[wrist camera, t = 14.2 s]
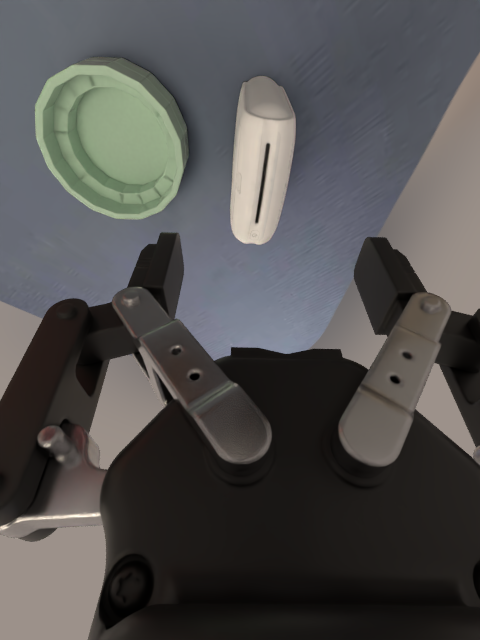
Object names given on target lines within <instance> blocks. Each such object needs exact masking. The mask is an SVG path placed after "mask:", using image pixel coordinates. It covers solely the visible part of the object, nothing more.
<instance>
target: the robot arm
mask: <svg viewBox="0 0 480 640" xmlns="http://www.w3.org/2000/svg"><path fill="white" fill-rule="evenodd" d="M414 272H415V271H414V270H413V268H412V267H411V266H410V263H409V261H408V260H407V258H406V257H405V256H404V255H403V254H402V253H400V252H399V251H398V250H395V249H393V248H392V247H391V245H390V243H389V242H388V240H387V238H383V237H382V238H381V237H367V238H366V239H365V241H364V243H363V246H362V249H361V251H360V254H359V257H358V260H357V263H356V265H355V269H354V280H355V282H356V285H357V288H358V291H359V293H360V296H361V298H362V301H363V303H364V306H365V309H366V312H367V314H368V317H369V319H370V322H371V325H372V327H373V330H374V332H375V334H376V335H387V337H388V338H387V339H386V341H385V343H384V345H383V346H382V348H381V350H380V352H379V353H378V355H377V357H376V359H375V360H374V362H373V363H372V365H371V367H370V369H369V370H368V369H367V368H365V367H364V366H362V365H360V364H358V363H356V362H354V361H351V360H348V359H345V358H343V357H342V353H341V350H340V349H311V350H306V351H301V352H296V353H291V354H283V353H279V352H274V351H270V350H265V349H261V348H238V347H231V355H230V356H226V357H223V358H220V359H218V360H215V361H214V360H213V359H212V358H211V357H210V356H209V354H208V353H207V352H206V351H205V350H204V348H203V347H202V346H201V345H200V344H199V342H198V341H197V340H196V339H195V338H194V336H193V335H192V334H191V333H190V332H189V330H188V329H187V328H186V327H185V326H184V324H183V323H182V322H181V321H180V320H179V319H175V314H176V309H177V304H178V299H179V295H180V290H181V285H182V280H183V275H184V263H183V256H182V249H181V242H180V235H179V233H164V232H161V233H160V236H159V239H158V242H157V244H148V245H147V246H146V247H145V248H144V249H143V250H142V251H141V253H140V256H139V258H138V261H137V263H136V267H135V269H134V271H133V274H132V276H131V279H130V281H129V284H128V287H127V288H125V289H123V290H121V291H119V292H118V293H117V294H116V295H115V296H114V297H113V299H112V302H110V303H107V304H103V305H98V306H93V307H88V305H87V303H86V302H85V301H83V300H81V299H74V298H73V299H66V300H62V301H60V302H58V303H56V304H54V305H53V306H52V307H50V308H49V309H48V311H47V312H46V314H45V316H44V318H43V320H42V322H41V324H40V326H39V328H38V330H37V331H36V333H35V335H34V337H33V339H32V341H31V343H30V345H29V347H28V349H27V351H26V353H25V354H24V356H23V358H22V360H21V362H20V364H19V366H18V368H17V370H16V372H15V374H14V376H13V378H12V380H11V381H10V383H9V385H8V387H7V389H6V391H5V393H4V395H3V397H2V399H1V401H0V534H1V535H4V536H7V537H11V538H19V539H22V540H25V541H30V542H33V541H38V540H41V539H44V538H46V537H47V536H49V535H50V534H52V533H53V532H54V531H55V530H56V529H57V528H62V527H79V526H96V525H103V527H104V532H105V539H106V569H105V576H104V582H103V586H102V590H101V593H100V597H99V600H98V604H97V608H96V611H95V615H94V619H93V622H92V626H91V629H90V633H89V637H88V640H480V309H478V310H477V312H476V313H475V314H474V315H473V316H471V315H467V314H463V313H459V312H454V311H451V307H450V306H449V304H448V303H447V302H446V301H445V300H444V299H442V298H441V297H439V296H437V295H434V294H432V293H427V291H426V289H425V288H424V286H423V284H422V283H421V281H420V279H419V278H418V276H417V275H416V273H414ZM129 354H132V355H133V357H134V359H135V360H136V362H137V363H138V365H139V366H140V368H141V370H142V371H143V373H144V374H145V376H146V378H147V379H148V381H149V382H150V384H151V386H152V387H153V389H154V392H155V394H156V396H157V397H158V399H159V401H160V403H161V405H162V406H163V408H164V409H163V410H161V411H160V413H159V414H158V415H157V416H156V417H155V418H154V419H153V420H152V421H151V422H150V423H149V424H148V425H147V426H146V427H145V428H144V429H143V430H142V431H141V432H140V433H139V434H138V435H137V436H136V437H135V438H134V439H133V440H132V441H131V442H130V443H129V444H128V445H127V446H126V447H125V448H124V449H123V450H122V451H121V452H120V453H119V454H118V455H117V457H116V458H115V459H114V461H113V462H112V464H111V465H110V467H109V469H108V470H104V469H100V465H99V460H100V450H99V447H98V445H97V444H96V442H95V441H94V440H93V439H92V437H91V436H90V435H89V431H90V427H91V424H92V421H93V417H94V414H95V410H96V407H97V403H98V399H99V396H100V393H101V389H102V385H103V382H104V379H105V375H106V372H107V368H108V364H109V361H110V359H113V358H117V357H121V356H125V355H129ZM434 363H437V364H439V365H440V368H441V370H442V372H443V374H444V377H445V379H446V381H447V383H448V386H449V388H450V390H451V392H452V394H453V397H454V399H455V401H456V403H457V406H458V408H459V410H460V412H461V415H462V417H463V419H464V421H465V423H466V426H467V428H468V430H469V432H470V434H471V437H472V439H473V441H474V444H475V446H476V449H475V450H474V453H473V458H472V457H471V456H470V455H468V454H467V453H466V452H465V451H464V450H463V449H461V448H460V447H459V446H458V445H457V444H456V443H454V442H453V441H452V440H451V439H450V438H448V437H447V436H446V435H445V434H444V433H443V432H441V431H440V430H439V429H438V428H437V427H436V426H434V425H433V424H432V423H431V422H430V421H428V420H427V419H426V418H425V417H424V416H423V415H421V414H420V413H419V412H418V411H417V410H416V409H415V408H416V405H417V403H418V400H419V398H420V396H421V393H422V391H423V388H424V386H425V384H426V381H427V379H428V376H429V373H430V372H431V369H432V366H433V364H434Z"/></svg>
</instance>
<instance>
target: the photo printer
mask: <svg viewBox="0 0 480 640" xmlns="http://www.w3.org/2000/svg"><path fill="white" fill-rule="evenodd" d="M295 136H296V117H295V113H294V111H293V108H292V106H291V104H290V101H289V99H288V97H287V94H286V92H285V90H284V88H283V87H282V86H278V85H277V84H276V82H275V81H274V80H272V79H271V78H269V77H266V76H257V77H254V78H252V79H250V80H249V81H248V82H245V81H244V82H243V84H242V88H241V91H240V95H239V101H238V108H237V118H236V128H235V140H234V152H233V169H232V190H231V207H230V215H231V227H232V232H233V234H234V236H235V237H236V238H237V239H238V240H240V241H241V242H243V243H245V244H248V243H255V244H258V245H260V244H264V243H266V242H267V241H269V240H270V239H271V237H272V236H273V234H274V232H275V230H276V228H277V225H278V222H279V218H280V215H281V211H282V207H283V203H284V199H285V195H286V190H287V185H288V180H289V175H290V170H291V164H292V158H293V152H294V145H295Z"/></svg>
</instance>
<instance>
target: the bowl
mask: <svg viewBox="0 0 480 640" xmlns="http://www.w3.org/2000/svg"><path fill="white" fill-rule="evenodd" d="M35 123H36V139H37V141H38V144H39V146H40V149H41V151H42V154H43V156H44V159H45V161H46V164H47V166H48V168H49V169H50V170H51V172H52V173H53V174H54V175H55V177H56V178H57V179H58V180H59V182H60V183H61V184H62V186H63V187H64V188H65V189H66V191H67V192H68V193H70V194H71V195H72V196H74V197H75V198H76V199H78V200H79V201H81V202H82V203H83V204H85V205H86V206H87V207H89V208H90V209H92V210H94V211H97V212H99V213H102V214H105V215H108V216H110V217H113V218H116V219H143V218H145V217H148V216H150V215H153V214H156V213H158V212H161V211H162V210H163V209H164V208H165V207H166V206H167V205H168V204H169V202H170V201H171V200H172V199H173V198H174V197H175V196H176V194H177V192H178V189H179V186H180V182H181V179H182V176H183V173H184V170H185V166H186V163H187V160H188V157H189V146H188V135H187V127H186V124H185V122H184V119H183V117H182V115H181V113H180V110H179V108H178V106H177V104H176V101H175V99H174V98H173V96H172V95H171V94H170V93H169V92H168V91H167V90H166V89H165V87H164V86H163V85H162V84H161V83H160V82H159V81H158V80H157V79H156V78H155V77H154V75H153V74H152V73H150V72H149V71H147V70H145V69H143V68H141V67H139V66H137V65H135V64H133V63H131V62H129V61H127V60H125V59H124V58H117V57H91V58H88V59H86V60H83V61H81V62H78V63H76V64H73V65H71V66H70V67H68V68H66V69H64V70H63V71H61V72H59V73H58V74H56V75H54V76H52V77H51V78H49V79H48V80H47V82H46V84H45V86H44V88H43V90H42V92H41V94H40V96H39V98H38V100H37V102H36V105H35Z"/></svg>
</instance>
